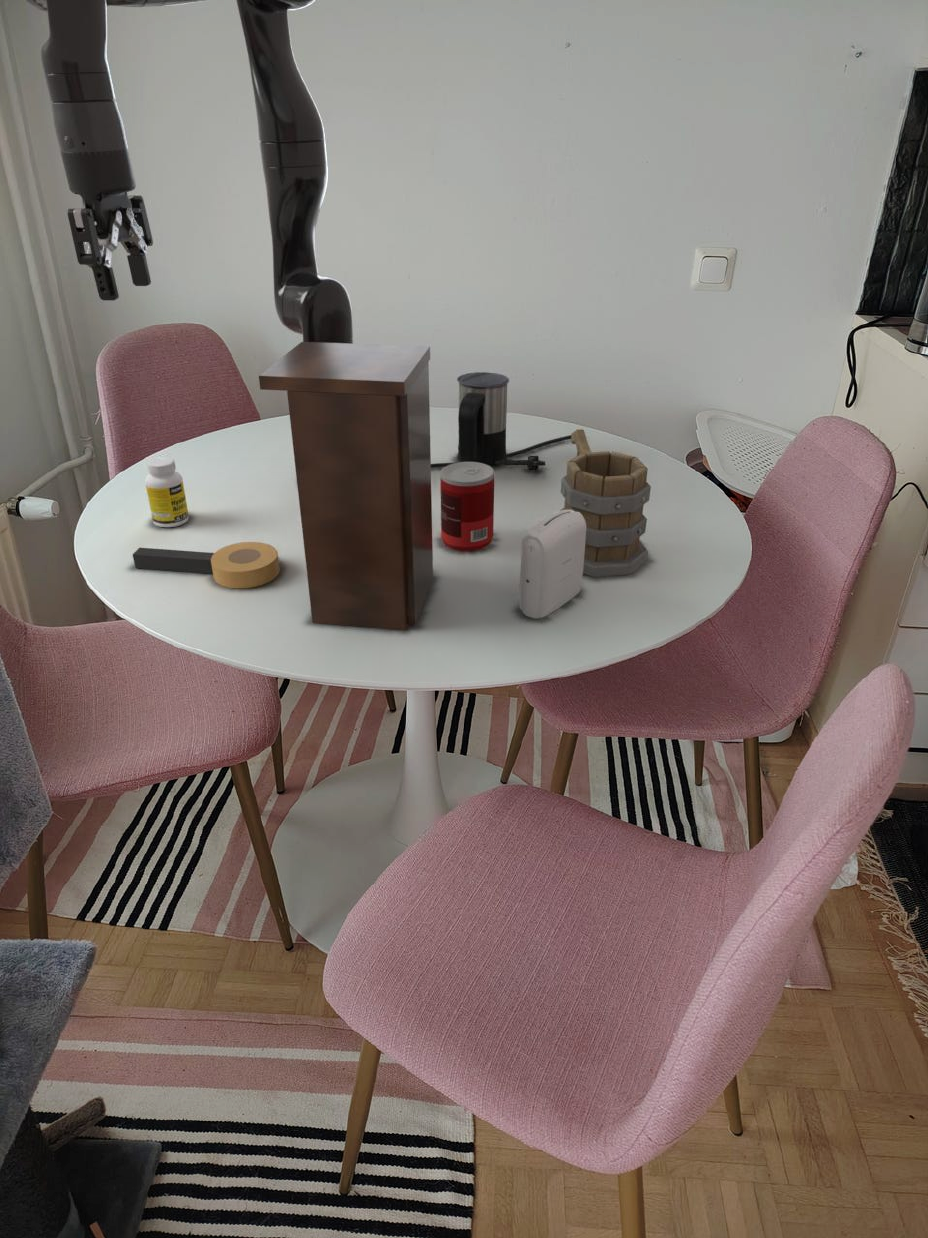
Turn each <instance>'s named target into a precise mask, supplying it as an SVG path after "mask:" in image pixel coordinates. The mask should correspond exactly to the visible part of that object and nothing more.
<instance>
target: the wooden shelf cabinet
mask: <svg viewBox="0 0 928 1238" xmlns="http://www.w3.org/2000/svg"><path fill="white" fill-rule="evenodd" d="M430 360H431V346H421V345H396V344H367V343H353V344H346V343H320V342H303V341H301V342H299V343H298V344H297V345H296V346H294V347H293V348H292V349H291V350H289V351H288V352H287V353H285V354H284V355H282V356H281V357H280V358H279V359H278V360H277V361H275V362H274V363H273V364H272V365H271V366H269V367H268V368H267V369H265V370H264V371H263V372H261V373H260V374H259V375H258V384H259V389H260V390H262V391H263V390H264V391H266V390H267V391H285V392H286V394H287V403H288V404H287V405H288V413H289V422H290V423H289V424H290V431H291V441H292V449H293V459H294V465H295V466H294V467H295V477H296V485H297V486H296V487H297V494H298V504H299V513H300V522H301V531H302V539H303V549H304V559H305V567H306V577H307V585H308V595H309V596H308V597H309V603H310V605H309V606H310V613H311V622H312V624H323V625H335V626H347V627H359V628H360V627H361V628H372V629H373V628H374V629H386V630H397V631H406V630H407V628H408V626H411V627H412V626H413V627H415V626H416V625H417V622H418V619H419V616H420V614H421V612H422V609H423V607H424V603H425V601H426V598H427V596H428V593H429V590H430V589H431V588H430V587H431V585H432V582H433V580H434V551H433V548H434V547H433V545H434V544H433V507H432V505H433V503H432V499H433V498H432V468H431V464H432V459H431V455H432V454H431V417H430V415H431V411H430V409H431V408H430V370H429V369H430V368H429V367H430V366H429V362H430Z"/></svg>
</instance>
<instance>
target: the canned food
mask: <svg viewBox="0 0 928 1238" xmlns="http://www.w3.org/2000/svg"><path fill="white" fill-rule="evenodd" d="M457 462H458V461H457ZM453 463H454V464H450V465H448V466H446V467H442V469H441V470H440V474H439V475H440V477H439V482H440V484H439V485H440V487H439V488H440V491H439V492H440V533H441V534H440V536H441V537H440V538H441V540H442V543H443V545H444V546H445V547H447V548H448V549H450V550H453V551H457V552H465V553H466V552H476V551H480V550H483V549H485V548H487V547H488V546H490V544H491V543H492V540H493V538H494V524H495V523H494V519H495V517H494V516H495V515H494V514H495V483H496V482H495V477H496V476H495V475H496V474H495V470H494V467H490V466H488V465H486V464H483V463H478V462H458V463H455V462H453Z"/></svg>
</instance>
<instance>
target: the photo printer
mask: <svg viewBox="0 0 928 1238" xmlns="http://www.w3.org/2000/svg"><path fill="white" fill-rule="evenodd" d="M560 510H561V509H560ZM560 510H557V511H555V512H553V513H550V514H548V515H546V516H545V517H543V518H542V519H541V520H539V521H538V522H537V523H536V524H534V525H533V526H532V527H531V528H530V529H529V530H528V532H526V534H525V535H524V537H523V539H522V541H521V545H520V571H519V573H520V575H519V599H518V600H519V602H518V605H519V606H518V607H519V609H520V610H521V613H522V614H523V615H525V616H526V617H527V618H531V619H537V620H539V619H543V618H545V617H547V616H550V614H551V613H553V612H555V611H556V610H558V609H559V608H561V607H563V606H564V605H565V604H566V603H568V602H569V601H571V600H572V599H573V598H574V597H576V596H577V595H578V594H579V593H580V592H581V590H582V587H583V579H584V578H583V577H584V574H583V566H584V554H585V540H586V522H585V519H584V517H583V516H582V514H581V513H580V512H575V511H573V510H561V511H560Z"/></svg>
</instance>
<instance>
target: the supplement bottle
mask: <svg viewBox="0 0 928 1238" xmlns="http://www.w3.org/2000/svg"><path fill="white" fill-rule="evenodd" d="M146 467H147V472H148V474H147V476H146V477H145V481H144V483H145V488H146V494H147V498H148V504H149V509H150V514H151V519H152V523H153V524H154V525H155V526H157V527H162V528H173V527H179V526H182V525H183V524H185V523H187V522H188V520H189V518H190V517H189V510H188V504H187V498H186V491H185V486H184V485H185V484H184V480H183V476H182V474H181V473H179V472H178V471H176V470H177V468H176V467H177V466H176V462H175V458H172V457H169V456H159V457H153V458H151V459H149V460H147V462H146Z"/></svg>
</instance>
